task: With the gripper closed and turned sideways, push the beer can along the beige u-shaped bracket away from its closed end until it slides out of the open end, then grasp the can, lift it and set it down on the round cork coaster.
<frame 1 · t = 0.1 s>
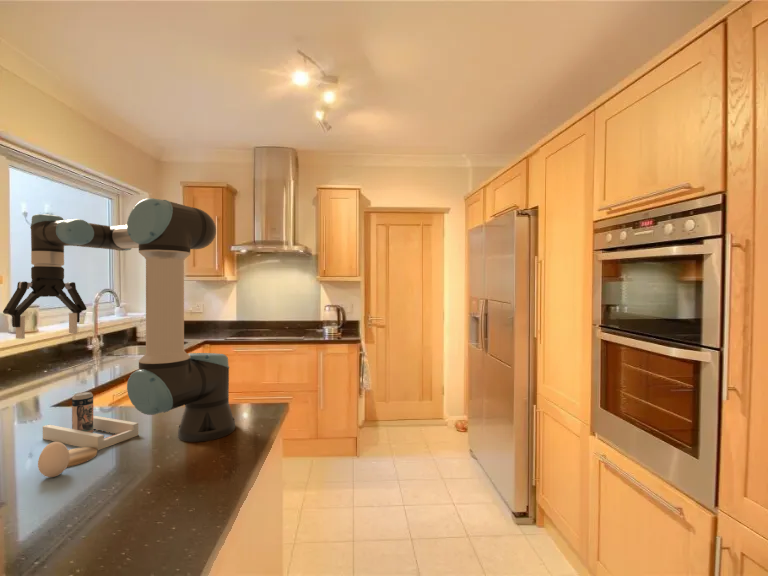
hand: (48, 335, 115), 28 cm above the worktop, fingers open, 13 cm apart
beer can: (82, 436, 109), resting in beige u-shaped bracket
beige u-shaped bracket: (91, 436, 107), on the worktop
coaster: (71, 458, 93), on the worktop
egg: (54, 477, 85), on the worktop
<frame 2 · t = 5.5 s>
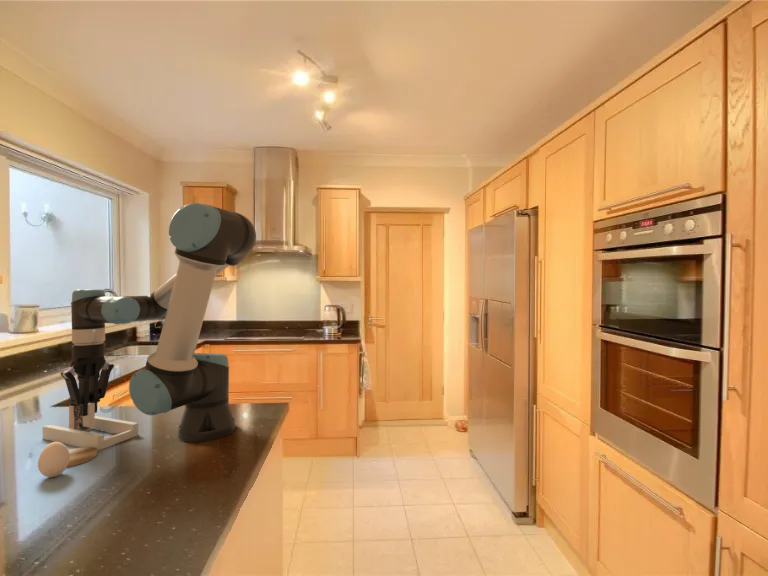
hand: (88, 425, 108), 3 cm above the worktop, fingers closed
beer can: (80, 435, 109), resting in beige u-shaped bracket, touching gripper
everything else where it was.
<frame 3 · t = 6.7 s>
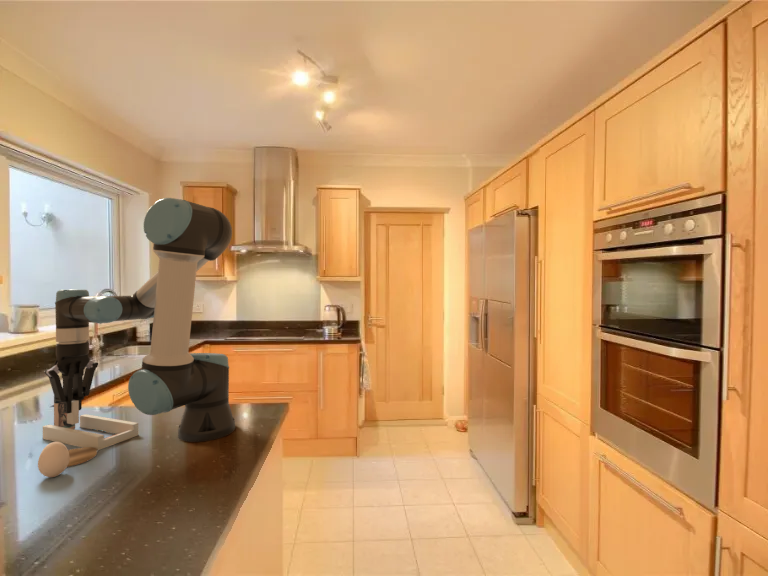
hand: (72, 422, 110), 3 cm above the worktop, fingers closed
beer can: (64, 432, 111), on the worktop, touching gripper
everything else where it was.
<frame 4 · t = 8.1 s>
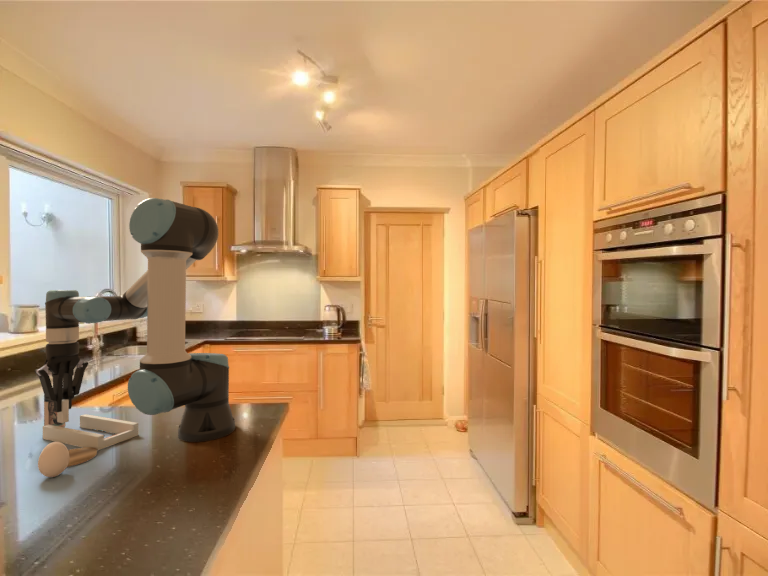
hand: (62, 421, 112), 3 cm above the worktop, fingers closed
beer can: (54, 430, 113), on the worktop, touching gripper
everything else where it was.
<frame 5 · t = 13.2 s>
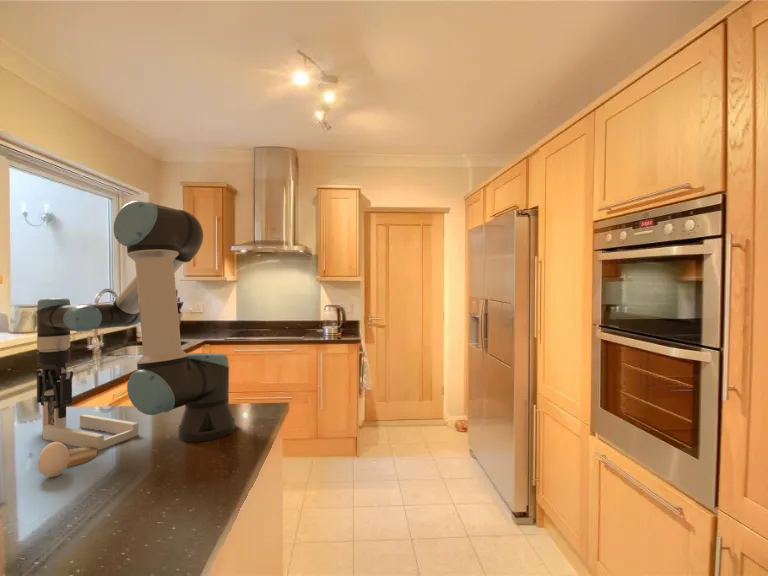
hand: (54, 427, 113), 1 cm above the worktop, fingers closed on beer can, 5 cm apart
beer can: (54, 430, 113), on the worktop, touching gripper
everything else where it was.
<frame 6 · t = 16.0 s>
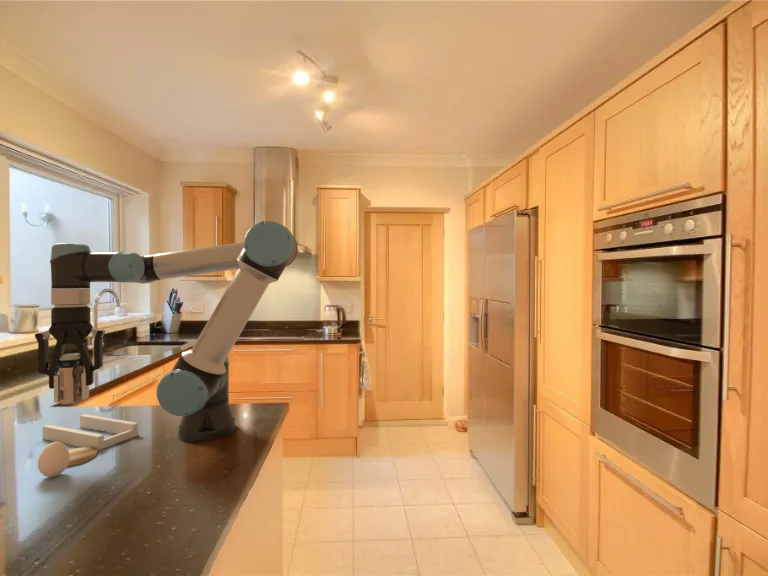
hand: (71, 399, 94), 15 cm above the worktop, fingers closed on beer can, 5 cm apart
beer can: (71, 403, 94), point 14 cm above the worktop, touching gripper
everything else where it was.
when the fingers open (3 cm above the worktop, at t = 18.6 s): beer can drops 1 cm, resting on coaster.
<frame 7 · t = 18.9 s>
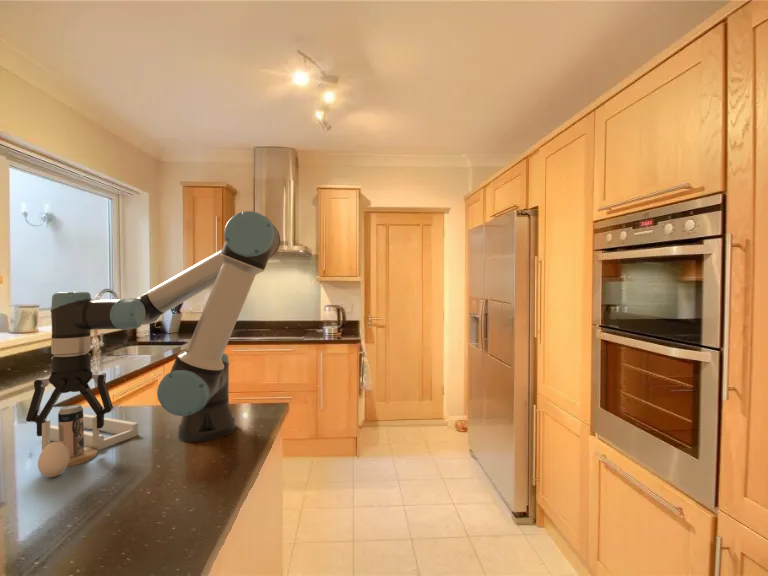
hand: (71, 444, 93), 4 cm above the worktop, fingers open, 9 cm apart
beer can: (71, 456, 93), point 1 cm above the worktop, touching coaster
everything else where it was.
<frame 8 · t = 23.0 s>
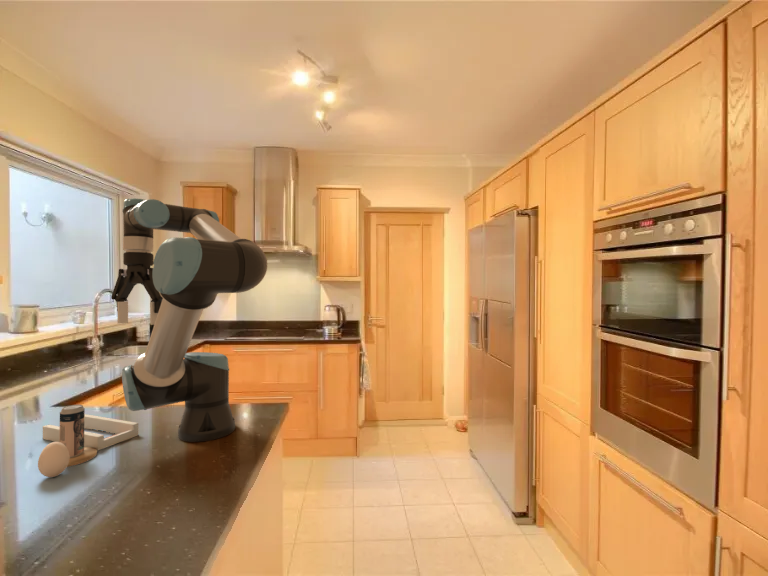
hand: (138, 323, 112), 32 cm above the worktop, fingers open, 13 cm apart
nothing on the worktop moved.
at the end: beer can inside the target area on the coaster (0.1 cm from its centre), point 0.6 cm above the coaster's base; beer can tilted 1°; the gripper is holding nothing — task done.
